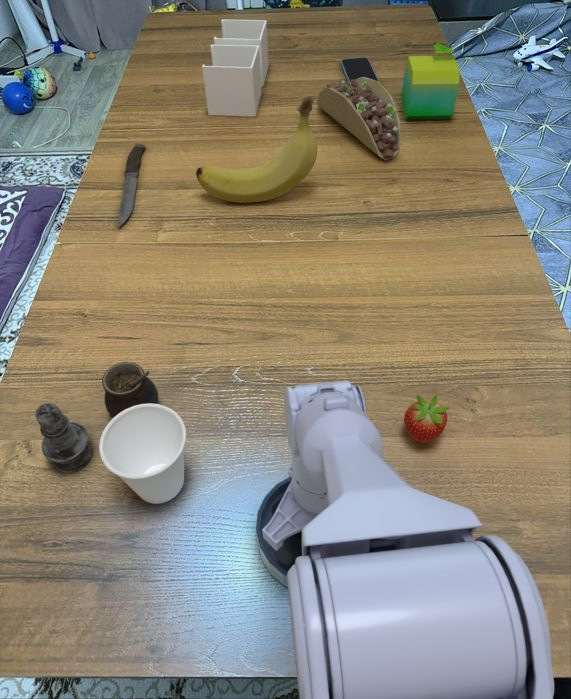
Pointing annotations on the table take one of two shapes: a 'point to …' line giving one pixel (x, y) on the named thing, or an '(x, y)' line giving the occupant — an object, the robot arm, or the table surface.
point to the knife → (130, 182)
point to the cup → (146, 450)
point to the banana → (267, 168)
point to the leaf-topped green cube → (430, 85)
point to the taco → (364, 113)
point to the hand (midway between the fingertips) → (317, 524)
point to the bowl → (291, 548)
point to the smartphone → (358, 68)
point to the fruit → (425, 419)
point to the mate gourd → (127, 387)
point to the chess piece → (63, 439)
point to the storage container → (237, 68)
